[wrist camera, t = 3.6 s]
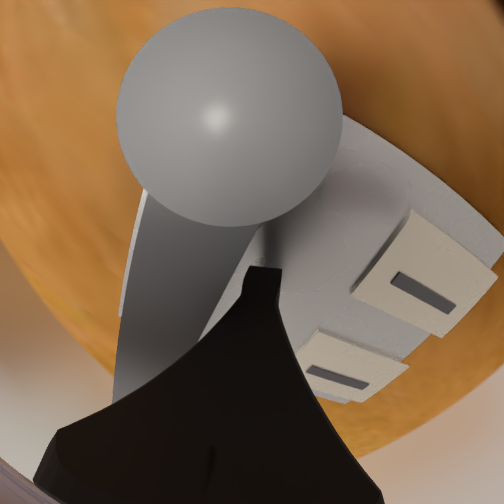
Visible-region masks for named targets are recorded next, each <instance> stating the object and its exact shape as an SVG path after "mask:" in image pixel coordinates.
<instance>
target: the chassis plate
mask: <svg viewBox="0 0 504 504" xmlns="http://www.w3.org/2000/svg"><path fill="white" fill-rule="evenodd" d="M147 194H148V192H147V191H146V190H145V189H143V193H142V196H141V200H140V204H139V208H138V213H137V217H136V221H135V225H134V230H133V234H132V239H131V244H130V249H129V254H128V259H127V264H126V270H125V275H124V281H123V287H122V294H121V300H120V307H119V314H118V316H120V317H121V316H122V310H123V304H124V298H125V292H126V286H127V281H128V276H129V271H130V266H131V261H132V256H133V251H134V247H135V242H136V238H137V234H138V229H139V225H140V221H141V217H142V213H143V209H144V206H145V202H146V198H147ZM503 252H504V237H503V236H502V235H501V234H500V233H499V232H498V231H497V230H496V229H495V228H494V227H493V226H492V225H491V224H490V223H489V222H488V221H487V220H486V219H485V218H484V217H483V216H482V215H481V214H480V213H479V212H478V211H477V210H475V209H474V208H473V207H472V206H471V205H470V204H469V203H468V202H467V201H465V200H464V199H463V198H462V197H461V196H460V195H459V194H457V193H456V192H455V191H454V190H453V189H451V188H450V187H449V186H448V185H447V184H445V183H444V182H443V181H442V180H440V179H439V178H438V177H437V176H435V175H434V174H433V173H431V172H430V171H429V170H427V169H426V168H425V167H423V166H422V165H421V164H419V163H418V162H417V161H415V160H414V159H413V158H411V157H410V156H408V155H407V154H406V153H404V152H403V151H401V150H400V149H398V148H397V147H395V146H394V145H392V144H391V143H389V142H388V141H386V140H385V139H383V138H382V137H380V136H379V135H377V134H376V133H374V132H372V131H371V130H369V129H368V128H366V127H364V126H363V125H361V124H359V123H358V122H356V121H354V120H352V119H351V118H349V117H347V116H346V115H344V114H343V124H342V133H341V139H340V144H339V147H338V150H337V153H336V156H335V159H334V161H333V163H332V165H331V167H330V169H329V171H328V173H327V174H326V176H325V177H324V179H323V180H322V182H321V183H320V184H319V185H318V187H317V188H316V189H315V190H314V191H313V192H312V193H311V194H310V195H309V196H308V197H307V198H306V199H305V200H303V201H302V202H301V203H300V204H299V205H297V206H296V207H294V208H293V209H291V210H289V211H288V212H286V213H284V214H282V215H280V216H278V217H276V218H274V219H271V220H268V221H265V222H262V223H260V225H259V227H258V229H257V231H256V232H255V234H254V236H253V238H252V240H251V242H250V244H249V246H248V247H247V249H246V251H245V253H244V255H243V257H242V259H241V261H240V263H239V264H238V266H237V268H236V270H235V272H234V274H233V276H232V278H231V280H230V281H229V283H228V285H227V287H226V289H225V291H224V293H223V295H222V297H221V299H220V300H219V302H218V304H217V306H216V308H215V310H214V312H213V314H212V316H211V318H210V319H209V321H208V323H207V325H206V327H205V329H204V331H203V333H202V335H201V337H200V339H199V340H198V342H199V341H200V340H201V339H202V338H203V337H204V336H205V335H206V334H207V333H208V332H209V331H210V330H211V329H212V327H213V326H214V325H215V324H216V323H217V322H218V321H219V320H220V319H221V318H222V317H223V316H224V315H225V313H226V312H227V311H228V310H229V309H230V307H231V306H232V305H233V304H234V303H235V301H236V300H237V299H238V298H239V296H240V295H241V290H242V284H243V279H244V276H245V274H246V272H247V270H248V268H249V266H250V265H251V266H260V267H270V268H279V269H282V279H281V289H280V298H279V310H280V313H281V317H282V320H283V324H284V327H285V330H286V333H287V335H288V338H289V341H290V343H291V346H292V349H293V351H294V354H295V356H296V358H297V361H298V363H299V365H300V367H301V369H302V371H303V374H304V376H305V378H306V380H307V382H308V384H309V386H310V388H311V389H312V391H313V393H314V395H315V396H318V397H321V398H325V399H329V400H332V401H336V402H340V403H343V404H346V403H347V402H349V401H350V400H353V401H357V402H361V403H362V402H364V401H365V400H367V399H368V398H369V397H371V396H372V395H374V394H375V393H376V392H378V391H379V390H380V389H382V388H383V387H384V386H386V385H387V384H388V383H390V382H391V381H392V380H394V379H395V378H396V377H397V376H399V375H400V374H401V373H402V372H404V371H405V370H406V369H407V368H409V367H410V363H409V362H406V361H403V359H404V358H405V357H406V356H407V355H409V354H410V353H411V352H412V351H413V350H414V349H415V348H416V347H418V346H419V345H420V344H421V343H422V342H423V341H424V340H425V339H426V338H427V337H428V336H429V335H430V334H433V335H436V336H438V337H440V338H443V337H444V336H445V335H446V334H447V333H448V332H449V331H450V330H451V329H452V328H453V327H454V326H455V325H456V324H457V323H458V322H459V321H460V320H461V319H462V318H463V317H464V316H465V315H466V314H467V313H468V312H469V310H470V309H471V308H472V307H473V306H474V305H475V304H476V303H477V302H478V301H479V300H480V298H481V297H482V296H483V295H484V294H485V293H486V292H487V290H488V289H489V288H490V287H491V286H492V285H493V283H494V282H495V281H496V280H497V278H498V276H497V274H496V273H495V272H493V271H492V270H491V268H492V266H493V265H494V264H495V263H496V261H497V260H498V259H499V257H500V256H501V255H502V253H503Z"/></svg>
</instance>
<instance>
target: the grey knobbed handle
mask: <svg viewBox="0 0 504 504" xmlns="http://www.w3.org/2000/svg"><path fill="white" fill-rule="evenodd" d="M116 117H117V131H118V138H119V142H120V145H121V149H122V152H123V154H124V157H125V159H126V162H127V164H128V166H129V167H130V169H131V171H132V173H133V174H134V176H135V177H136V179H137V180H138V182H139V183H140V184H141V185H142V186H143V188H144V189H145V190H146V191H147V192H148V194H147V198H146V202H145V206H144V209H143V213H142V217H141V221H140V225H139V229H138V234H137V238H136V242H135V247H134V251H133V256H132V261H131V266H130V271H129V276H128V281H127V286H126V292H125V298H124V304H123V310H122V316H121V323H120V330H119V338H118V346H117V354H116V364H115V374H114V387H113V400H112V404H113V403H115V402H116V401H118V400H120V399H121V398H123V397H125V396H126V395H128V394H130V393H131V392H133V391H135V390H136V389H138V388H140V387H141V386H143V385H144V384H146V383H147V382H149V381H150V380H152V379H153V378H154V377H156V376H157V375H159V374H160V373H161V372H163V371H164V370H165V369H166V368H168V367H169V366H170V365H172V364H173V363H174V362H175V361H177V360H178V359H179V358H180V357H182V356H183V355H184V354H185V353H186V352H187V351H189V350H190V349H191V348H192V347H193V346H194V345H195V344H196V343H197V342H198V340H199V339H200V337H201V335H202V333H203V331H204V329H205V327H206V325H207V323H208V321H209V319H210V318H211V316H212V314H213V312H214V310H215V308H216V306H217V304H218V302H219V300H220V299H221V297H222V295H223V293H224V291H225V289H226V287H227V285H228V283H229V281H230V280H231V278H232V276H233V274H234V272H235V270H236V268H237V266H238V264H239V263H240V261H241V259H242V257H243V255H244V253H245V251H246V249H247V247H248V246H249V244H250V242H251V240H252V238H253V236H254V234H255V232H256V231H257V229H258V227H259V225H260V223H262V222H265V221H268V220H271V219H274V218H276V217H278V216H280V215H282V214H284V213H286V212H288V211H289V210H291V209H293V208H294V207H296V206H297V205H299V204H300V203H301V202H302V201H303V200H305V199H306V198H307V197H308V196H309V195H310V194H311V193H312V192H313V191H314V190H315V189H316V188H317V187H318V185H319V184H320V183H321V182H322V180H323V179H324V177H325V176H326V174H327V173H328V171H329V169H330V167H331V165H332V163H333V161H334V159H335V156H336V153H337V150H338V147H339V144H340V139H341V133H342V124H343V110H342V101H341V95H340V92H339V88H338V84H337V81H336V79H335V76H334V74H333V72H332V70H331V67H330V66H329V64H328V62H327V61H326V59H325V58H324V56H323V55H322V53H321V52H320V51H319V49H318V48H317V47H316V46H315V45H314V44H313V43H312V41H311V40H309V39H308V38H307V37H306V36H305V35H304V34H303V33H301V32H300V31H299V30H298V29H296V28H295V27H293V26H292V25H290V24H288V23H287V22H285V21H283V20H281V19H279V18H277V17H274V16H272V15H270V14H267V13H263V12H260V11H256V10H251V9H245V8H214V9H207V10H203V11H199V12H196V13H192V14H189V15H187V16H184V17H182V18H180V19H178V20H176V21H174V22H172V23H171V24H169V25H167V26H166V27H164V28H163V29H161V30H160V31H159V32H157V33H156V34H155V35H154V36H152V37H151V38H150V39H149V40H148V41H147V42H146V44H145V45H144V46H143V47H142V48H141V49H140V50H139V52H138V53H137V55H136V56H135V57H134V59H133V60H132V62H131V64H130V66H129V67H128V69H127V71H126V74H125V76H124V79H123V81H122V84H121V88H120V91H119V96H118V102H117V110H116Z"/></svg>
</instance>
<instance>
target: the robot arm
mask: <svg viewBox="0 0 504 504" xmlns="http://www.w3.org/2000/svg"><path fill="white" fill-rule="evenodd" d="M281 279H282V269H279V268H270V267H260V266H251V265H250V266H249V268H248V270H247V272H246V274H245V276H244V279H243V284H242V290H241V295H240V296H239V298H238V299H237V300H236V301H235V303H234V304H233V305H232V306H231V307H230V309H229V310H228V311H227V312H226V313H225V315H224V316H223V317H222V318H221V319H220V320H219V321H218V322H217V323H216V324H215V325H214V326H213V327H212V329H211V330H210V331H209V332H208V333H207V334H206V335H205V336H204V337H203V338H202V339H201V340H200V341H199V342H197V343H196V344H195V345H194V346H193V347H192V348H191V349H190V350H189V351H187V352H186V353H185V354H184V355H183V356H182V357H180V358H179V359H178V360H177V361H175V362H174V363H173V364H172V365H170V366H169V367H168V368H166V369H165V370H164V371H163V372H161V373H160V374H159V375H157V376H156V377H154V378H153V379H152V380H150V381H149V382H147V383H146V384H144V385H143V386H141V387H140V388H138V389H136V390H135V391H133V392H131V393H130V394H128V395H126V396H125V397H123V398H121V399H120V400H118V401H116V402H115V403H113V404H111V405H110V406H108V407H106V408H104V409H102V410H100V411H98V412H96V413H94V414H92V415H90V416H87V417H86V418H83V419H81V420H79V421H77V422H74V423H72V424H70V425H68V426H66V427H63V428H61V429H59V430H57V432H56V434H55V435H54V437H53V438H52V440H51V441H50V443H49V445H48V447H47V449H46V451H45V453H44V456H43V458H42V460H41V462H40V465H39V467H38V469H37V471H36V473H35V476H34V478H33V482H34V483H33V482H32V481H30V480H29V479H27V478H26V477H25V476H23V475H22V474H21V473H19V472H18V471H17V470H15V469H14V468H13V467H11V466H10V465H9V464H8V463H6V462H5V461H4V460H3V459H1V458H0V504H385V503H384V499H383V495H382V492H381V490H380V489H379V488H378V486H377V485H376V484H375V483H374V482H373V480H372V479H371V478H370V477H369V476H368V474H367V473H366V472H365V471H364V469H363V468H362V467H361V466H360V464H359V463H358V462H357V460H356V459H355V458H354V456H353V455H352V454H351V452H350V451H349V449H348V448H347V446H346V445H345V444H344V442H343V441H342V439H341V438H340V436H339V435H338V433H337V432H336V430H335V429H334V427H333V425H332V424H331V422H330V420H329V419H328V417H327V416H326V414H325V412H324V411H323V409H322V407H321V406H320V404H319V402H318V401H317V399H316V397H315V395H314V393H313V391H312V389H311V388H310V386H309V384H308V382H307V380H306V378H305V376H304V374H303V371H302V369H301V367H300V365H299V363H298V361H297V358H296V356H295V354H294V351H293V349H292V346H291V343H290V341H289V338H288V335H287V333H286V330H285V327H284V324H283V320H282V317H281V313H280V310H279V298H280V289H281Z"/></svg>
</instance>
